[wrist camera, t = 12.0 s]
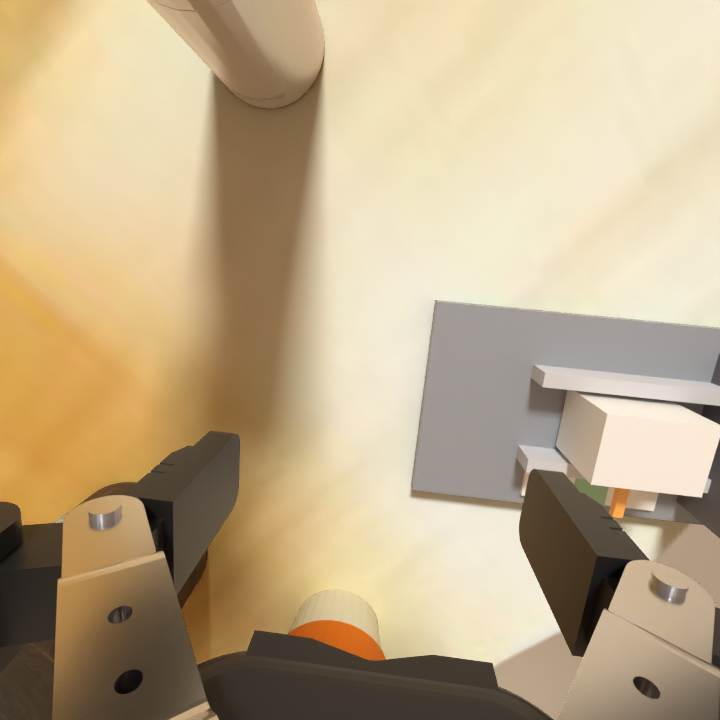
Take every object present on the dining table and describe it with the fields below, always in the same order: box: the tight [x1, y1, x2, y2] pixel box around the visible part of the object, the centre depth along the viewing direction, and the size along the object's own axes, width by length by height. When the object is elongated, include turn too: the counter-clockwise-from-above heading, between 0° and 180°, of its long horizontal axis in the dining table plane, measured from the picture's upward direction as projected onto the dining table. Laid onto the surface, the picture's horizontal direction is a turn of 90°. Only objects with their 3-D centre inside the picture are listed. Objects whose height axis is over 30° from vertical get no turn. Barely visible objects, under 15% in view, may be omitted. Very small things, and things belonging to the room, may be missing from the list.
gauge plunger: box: [556, 390, 720, 518], centre depth 35 cm, size 8×9×7 cm
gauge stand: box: [412, 300, 720, 538], centre depth 35 cm, size 30×18×10 cm, turn 85°
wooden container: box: [0, 482, 207, 720], centre depth 35 cm, size 15×15×22 cm
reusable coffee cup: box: [288, 590, 386, 661], centre depth 39 cm, size 12×13×15 cm
